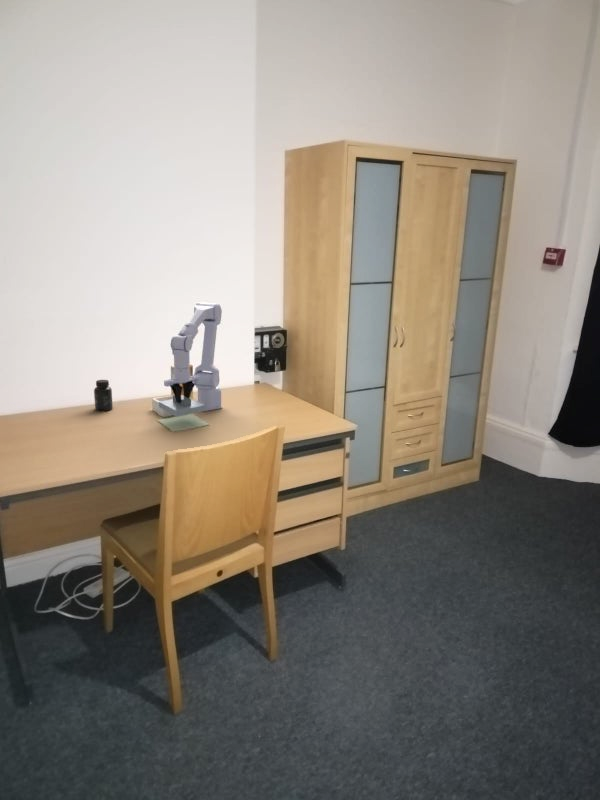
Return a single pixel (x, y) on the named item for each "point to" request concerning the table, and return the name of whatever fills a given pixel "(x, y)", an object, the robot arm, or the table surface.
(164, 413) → the storage box
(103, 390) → the supplement bottle
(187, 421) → the mat
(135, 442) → the table surface
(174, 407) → the lid
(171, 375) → the candy box
